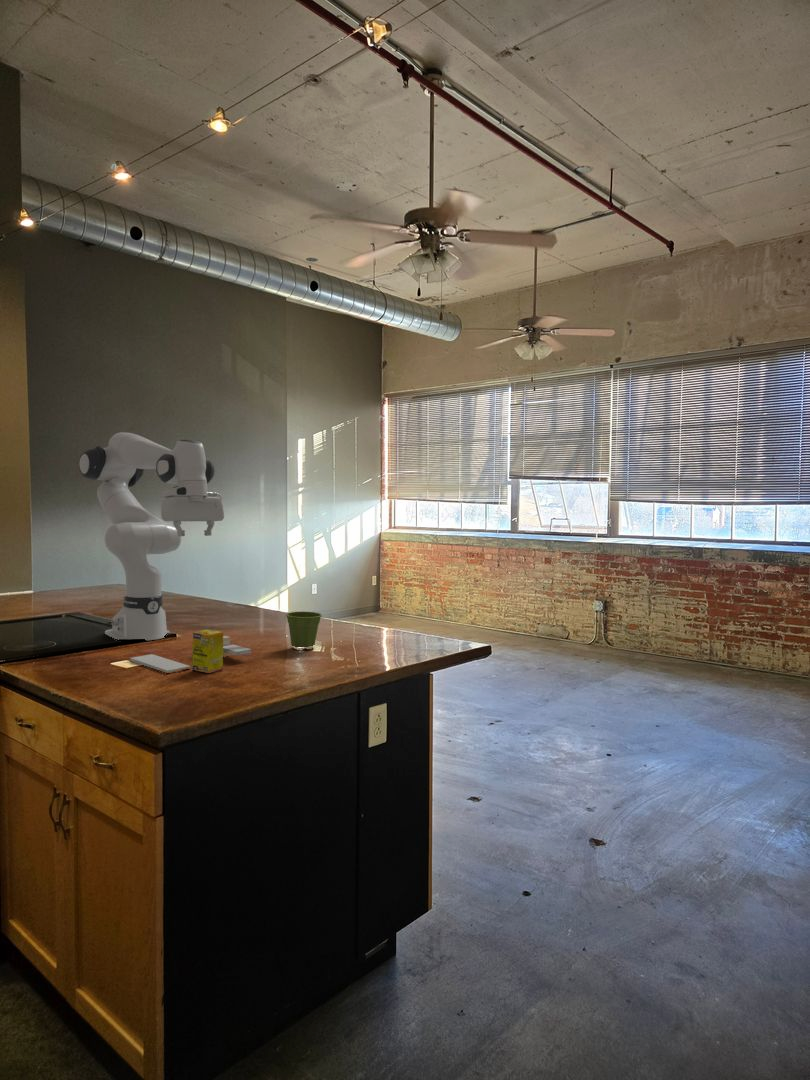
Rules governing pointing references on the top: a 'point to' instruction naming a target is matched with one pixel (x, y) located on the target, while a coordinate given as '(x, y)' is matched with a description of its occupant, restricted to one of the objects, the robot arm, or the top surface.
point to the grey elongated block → (233, 648)
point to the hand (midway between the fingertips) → (194, 536)
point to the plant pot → (303, 628)
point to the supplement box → (207, 650)
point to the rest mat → (159, 663)
